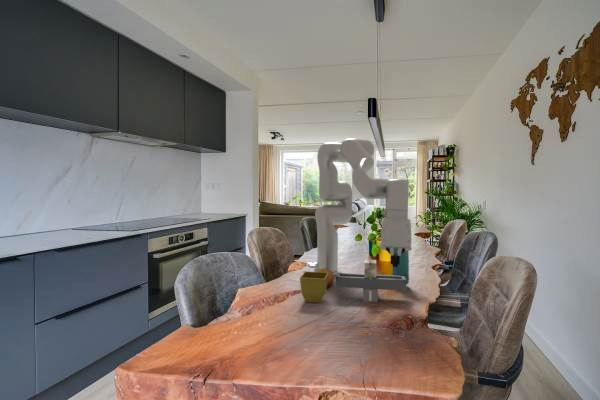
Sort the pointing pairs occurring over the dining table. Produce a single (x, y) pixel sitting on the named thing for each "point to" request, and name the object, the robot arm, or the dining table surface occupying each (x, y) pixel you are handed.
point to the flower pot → (313, 286)
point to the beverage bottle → (402, 265)
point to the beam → (371, 284)
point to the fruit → (330, 276)
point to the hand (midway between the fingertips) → (394, 266)
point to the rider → (370, 268)
